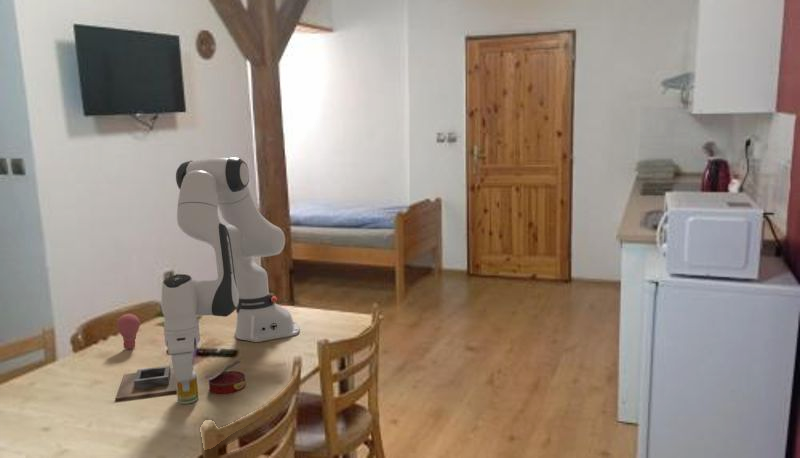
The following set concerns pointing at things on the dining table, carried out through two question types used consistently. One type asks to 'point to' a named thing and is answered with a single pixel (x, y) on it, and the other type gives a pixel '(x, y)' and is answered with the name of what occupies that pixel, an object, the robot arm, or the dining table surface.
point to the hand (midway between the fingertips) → (186, 385)
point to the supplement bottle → (188, 395)
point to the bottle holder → (147, 383)
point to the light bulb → (128, 329)
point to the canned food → (227, 381)
